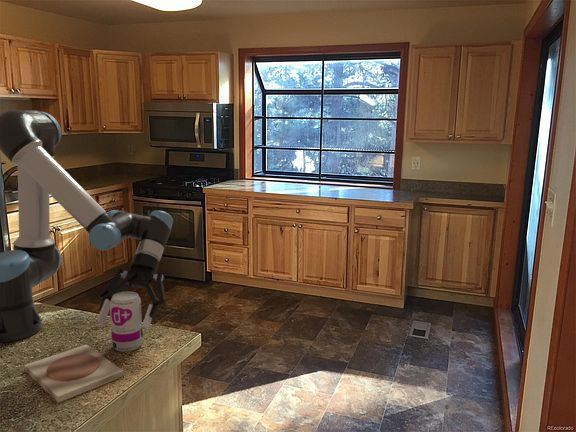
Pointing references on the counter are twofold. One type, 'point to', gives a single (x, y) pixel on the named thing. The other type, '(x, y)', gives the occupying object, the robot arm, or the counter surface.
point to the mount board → (73, 372)
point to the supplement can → (126, 321)
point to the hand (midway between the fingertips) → (122, 325)
